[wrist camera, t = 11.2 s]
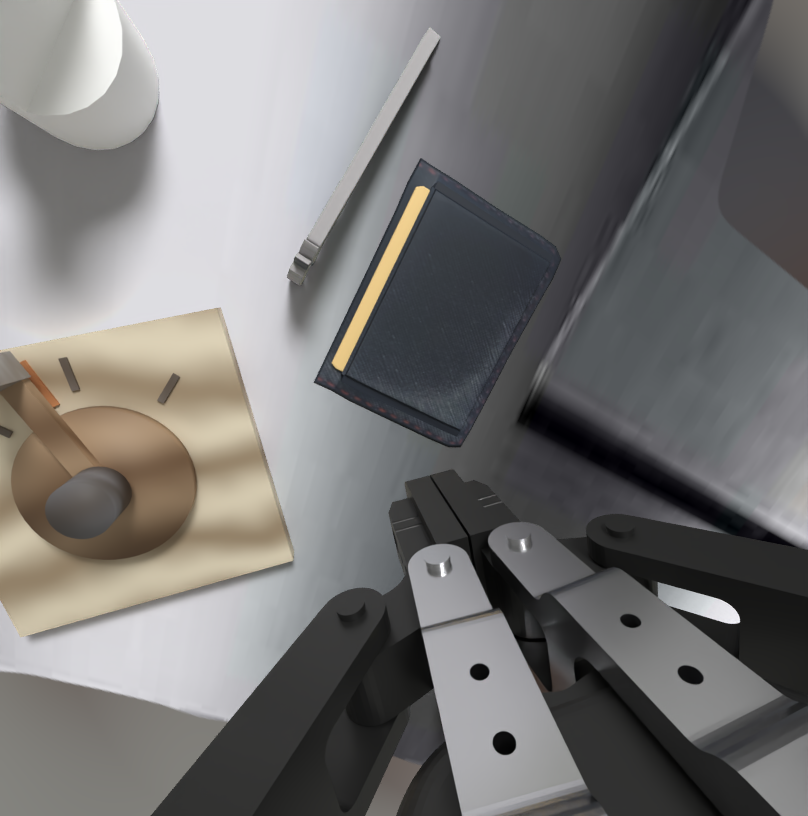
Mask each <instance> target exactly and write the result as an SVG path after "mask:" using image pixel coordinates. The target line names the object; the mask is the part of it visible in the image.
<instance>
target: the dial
mask: <svg viewBox="0 0 808 816" xmlns="http://www.w3.org/2000/svg"><path fill="white" fill-rule="evenodd" d="M30 377H31V376H30V375H29V373H28V372H27V371H26V370H25V369H24V367H23V366H22V365H21V364H20V363H19V361H18V360H17V359H16V358H15V357H14V355H13V354H12V353H11V352H10V351H7V352H1V353H0V394H1V395H2V396H3V398H4V399H5V400H6V401H7V402H8V403H9V404H10V406H11V407H12V408H13V409H14V410H15V411H16V412H17V414H18V415H19V416H20V417H21V418H22V419H23V420H24V422H25V423H26V424H27V425H28V426H29V427H30V429H31V430H32V431H33V433H31V434H30V436H29V437H28V438H27V439H26V440H25V441H24V442H23V444H22V446H21V447H20V449H19V450H18V452H17V455H16V457H15V459H14V463H13V467H12V471H11V487H12V494H13V497H14V501H15V503H16V506H17V508H18V510H19V512H20V514H21V515H22V517H23V519H24V520H25V521H26V523H27V524H28V525H29V526H30V527H31V529H32V530H34V531H35V532H36V533H37V534H38V535H39V536H40V537H41V538H43V539H44V540H46V541H47V542H48V543H50V544H52V545H53V546H55V547H57V548H59V549H61V550H63V551H66V552H68V553H71V554H74V555H77V556H80V557H85V558H91V559H100V560H117V559H125V558H130V557H134V556H138V555H141V554H144V553H147V552H149V551H151V550H153V549H155V548H157V547H159V546H160V545H162V544H163V543H165V542H166V541H167V540H168V539H170V538H171V537H172V536H173V535H174V534H175V533H176V532H177V531H178V530H179V529H180V527H181V526H182V524H183V523H184V521H185V520H186V518H187V516H188V514H189V512H190V510H191V508H192V506H193V503H194V500H195V496H196V489H197V478H196V472H195V468H194V464H193V461H192V459H191V457H190V455H189V452H188V451H187V449H186V448H185V446H184V445H183V443H182V442H181V441H180V440H179V438H178V437H177V436H176V435H175V434H174V433H173V432H172V431H170V430H169V429H168V428H167V427H166V426H164V425H163V424H161V423H160V422H159V421H157V420H155V419H153V418H151V417H149V416H147V415H145V414H142V413H140V412H137V411H134V410H130V409H127V408H121V407H115V406H91V407H85V408H80V409H76V410H73V411H70V412H67V413H64V414H62V415H59V414H58V413H57V411H56V410H55V409H54V408H53V407H52V406H51V404H50V403H49V402H48V401H47V400H46V398H45V397H44V396H43V395H42V394H41V392H40V391H39V390H38V389H37V388H36V386H35V385H34V384H33V383H32V382H31V380H30V379H29V378H30Z"/></svg>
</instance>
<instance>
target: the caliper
mask: <svg viewBox="0 0 808 816" xmlns="http://www.w3.org/2000/svg"><path fill="white" fill-rule="evenodd" d="M439 39H440V36H439V35H438V34H437V33H436V32H434V31H433V30H432V29H431V28H430V27H429V29H428V30H427V32H426V34H425V36H423V38H422V40H421V42H420V43H419V45H418V47H417V49H416V50H415V52H414V54H413V55H412V57H411V59H410V61H409V62H408V64H407V66H406V68H405V69H404V71H403V73H402V75H401V76H400V78H399V80H398V82H397V83H396V85H395V87H394V88H393V90H392V92H391V94H390V95H389V97H388V99H387V101H386V102H385V104H384V106H383V108H382V109H381V111H380V113H379V115H378V116H377V118H376V120H375V122H374V123H373V125H372V127H371V129H370V130H369V132H368V134H367V135H366V137H365V139H364V141H363V142H362V144H361V146H360V148H359V149H358V151H357V153H356V155H355V156H354V158H353V160H352V162H351V163H350V165H349V167H348V169H347V170H346V172H345V174H344V175H343V177H342V179H341V181H339V183H338V185H337V187H336V188H335V190H334V192H333V194H332V195H331V197H330V199H329V201H328V202H327V204H326V206H325V207H324V209H323V211H322V213H321V214H320V216H319V218H318V220H317V221H316V223H315V225H314V227H313V228H312V230H311V232H310V234H309V235H308V237H307V239H305V240H304V242H303V244H302V246H301V248H300V251H299V253H297V254H296V255H295V258H294V262H293V263H292V265H291V267H290V269H289V272H288V275H287V278H288V279H290V280H291V281H293V282H295V283H296V284H298V285H300V286H301V284H302V283H303V281H304V279H305V276H306V274H307V271H308V269H309V267H310V266H311V265H313V263H314V262H315V260H316V258H317V256H318V254H319V252H320V250H321V248H322V246H323V244H324V241H325V240H326V238H327V236H328V234H329V233H330V231H331V229H332V228H333V226H334V224H335V223H336V221H337V219H338V217H339V216H340V214H341V212H342V210H343V209H344V207H345V205H346V203H347V201H348V199H349V197H350V196H351V194H352V192H353V190H354V189H355V187H356V185H357V183H358V182H359V180H360V178H361V176H362V175H363V173H364V171H365V169H366V168H367V166H368V164H369V162H370V161H371V159H372V157H373V155H374V154H375V152H376V150H377V148H378V147H379V145H380V143H381V141H382V140H383V138H384V136H385V134H386V133H387V131H388V129H389V127H390V126H391V124H392V122H393V120H394V119H395V117H396V115H397V113H398V112H399V110H400V108H401V106H402V105H403V103H404V101H405V99H406V98H407V96H408V94H409V92H410V91H411V89H412V87H413V85H414V84H415V82H416V80H417V78H418V77H419V75H420V73H421V71H422V70H423V68H424V66H425V64H426V62H427V61H428V59H429V57H430V55H431V53H432V52H433V50H434V48H435V46H436V45H437V43H438V41H439Z"/></svg>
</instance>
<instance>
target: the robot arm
mask: <svg viewBox="0 0 808 816" xmlns="http://www.w3.org/2000/svg"><path fill="white" fill-rule="evenodd" d="M405 489H406V494H407V499H403V500H399V501H396V502H392V505H391V508H390V510H389V517H390V521H391V526H392V530H393V535H394V539H395V544H396V548H397V553H398V557H399V560H400V563H401V566H402V569H403V572H404V575H405V577H404V578H403V580H402V581H401V582H400V583H399V585H398V586H396V587H395V588H394V589H393V590H391V591H390V592H388V593H386V594H385V595H383V596H382V595H381V594H380V593H379V592H377V591H375V590H373V589H370V588H355V589H351V590H347V591H345V592H342V593H340V594H338V595H337V596H335V597H333V598H332V599H331V600H330V601H328V603H327V604H326V605H325V606H324V607H323V608H322V609H321V611H320V612H319V613H318V614H317V615H316V617H315V618H314V619H313V620H312V621H311V623H310V624H309V625H308V626H307V627H306V629H305V630H304V631H303V632H302V634H301V635H300V636H299V637H298V638H297V640H296V641H295V642H294V643H293V644H292V646H291V647H290V648H289V649H288V650H287V652H286V653H285V654H284V655H283V657H282V658H281V659H280V660H279V661H278V663H277V664H276V665H275V666H274V667H273V669H272V670H271V671H270V672H269V673H268V675H267V676H266V677H265V678H264V679H263V681H262V682H261V683H260V684H259V686H258V687H257V688H256V689H255V690H254V692H253V693H252V694H251V695H250V696H249V698H248V699H247V700H246V701H245V702H244V704H243V705H242V706H241V707H240V708H239V710H238V711H237V712H236V713H235V715H234V716H233V717H232V718H231V719H230V721H229V722H228V723H227V724H226V726H225V727H224V728H223V729H222V730H221V732H220V733H219V734H218V735H217V736H216V738H215V739H214V740H213V741H212V742H211V744H210V745H209V746H208V747H207V748H206V750H205V751H204V752H203V753H202V754H201V756H200V757H199V758H198V759H197V761H196V762H195V763H194V764H193V765H192V767H191V768H190V769H189V770H188V771H187V773H186V774H185V775H184V776H183V777H182V779H181V780H180V781H179V782H178V783H177V785H176V786H175V787H174V789H172V791H171V792H170V793H169V794H168V796H167V797H166V798H165V799H164V800H163V802H162V803H161V804H160V805H159V807H158V808H157V809H156V810H155V811H154V813H153V814H152V815H151V816H365V815H366V812H367V810H368V808H369V806H370V804H371V801H372V799H373V797H374V795H375V793H376V791H377V788H378V786H379V784H380V782H381V780H382V777H383V775H384V773H385V771H386V769H387V767H388V764H389V762H390V760H391V758H392V756H393V754H394V751H395V749H396V747H397V745H398V743H399V741H400V738H401V736H402V734H403V732H404V730H405V728H406V725H407V723H408V720H409V717H410V705H411V704H413V703H414V702H416V701H417V700H418V699H420V698H421V697H422V696H424V695H425V694H426V693H428V692H429V691H430V690H432V689H433V688H434V690H435V695H436V699H437V704H438V708H439V713H440V717H441V722H442V727H443V731H444V736H445V740H446V742H444V743H443V744H442V745H441V746H440V747H439V748H438V749H437V750H435V751H434V752H433V753H432V755H431V756H430V757H429V758H428V759H427V760H426V762H425V763H424V764H423V765H422V767H421V768H420V770H419V771H418V772H417V774H416V776H415V777H414V778H413V780H412V782H411V784H410V786H409V787H408V789H407V791H406V794H405V795H404V798H403V800H402V802H401V805H400V807H399V810H398V812H397V815H396V816H808V550H805V549H800V548H795V547H790V546H785V545H779V544H774V543H769V542H764V541H759V540H754V539H748V538H743V537H738V536H733V535H728V534H723V533H717V532H712V531H707V530H702V529H697V528H692V527H686V526H681V525H676V524H671V523H666V522H661V521H655V520H650V519H645V518H640V517H635V516H630V515H623V514H609V515H603V516H600V517H597V518H595V519H593V520H591V521H590V522H589V523H588V525H587V527H586V534H587V537H583V538H569V539H555V538H554V537H553V536H552V535H551V534H549V533H548V532H547V531H546V530H545V529H543V528H542V527H540V526H538V525H535V524H532V523H527V522H520V521H519V519H518V518H517V517H516V516H515V515H514V514H513V513H512V512H511V511H510V510H509V509H508V507H507V506H506V505H505V504H504V503H503V502H501V500H500V499H499V498H498V497H497V496H495V493H494V492H493V491H492V490H491V489H490V488H489V487H488V486H487V485H485V484H482V483H480V482H478V481H475V480H473V481H469V482H465V483H464V482H463V481H462V479H461V478H460V477H459V476H458V474H457V473H456V472H455V471H454V470H453V469H452V470H448V471H444V472H441V473H437V474H433V475H430V476H426V477H422V478H418V479H415V480H411V481H407V482H405ZM658 582H660V583H664V584H667V585H671V586H674V587H678V588H682V589H685V590H689V591H693V592H696V593H700V594H704V595H707V596H711V597H714V598H718V599H721V600H723V601H725V602H727V603H728V604H730V605H731V606H732V607H733V608H734V609H735V610H736V611H737V613H738V614H739V617H740V623H737V624H727V623H723V622H720V621H717V620H713V619H710V618H707V617H703V616H700V615H697V614H694V613H690V612H687V611H684V610H680V609H677V608H674V607H670V606H668V605H667V604H665V603H664V602H663V601H662V600H660V599H659V598H658Z"/></svg>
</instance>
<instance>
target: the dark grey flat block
mask: <svg viewBox="0 0 808 816" xmlns="http://www.w3.org/2000/svg"><path fill="white" fill-rule="evenodd" d="M560 261H561V258H560V255H559V253H558V251H557V248H556V246H554V245H553V244H552V243H550V242H549V241H548V240H546V239H545V238H543V237H542V236H541V235H539V234H538V233H536V232H534V231H533V230H531V229H530V228H528V227H526V226H525V225H523V224H522V223H520V222H518V221H517V220H515V219H514V218H512V217H510V216H509V215H507V214H506V213H504V212H503V211H501V210H499V209H498V208H496V207H495V206H493V205H492V204H490V203H489V202H487V201H486V200H484V199H483V198H481V197H480V196H478V195H477V194H475V193H474V192H472V191H471V190H469V189H468V188H466V187H465V186H463V185H462V184H460V183H459V182H457V181H456V180H454V179H453V178H451V177H449V176H448V175H446V174H445V173H443V172H441V171H440V170H438V169H437V168H435V167H433V166H432V165H430V164H429V163H427V162H426V161H424V160H423V159H421V158H420V160H419V162H418V164H417V166H416V168H415V170H414V171H413V173H412V175H411V177H410V179H409V181H408V183H407V185H406V187H405V190H404V192H403V194H402V197H401V199H400V201H399V204H398V206H397V208H396V211H395V213H394V215H393V217H392V219H391V221H390V223H389V225H388V228H387V230H386V232H385V234H384V236H383V238H382V240H381V242H380V244H379V247H378V249H377V251H376V253H375V255H374V257H373V259H372V261H371V263H370V265H369V268H368V270H367V272H366V274H365V276H364V278H363V280H362V282H361V284H360V286H359V289H358V291H357V293H356V295H355V297H354V299H353V301H352V303H351V305H350V307H349V310H348V312H347V314H346V316H345V318H344V320H343V322H342V324H341V326H340V329H339V331H338V333H337V335H336V337H335V339H334V341H333V343H332V345H331V347H330V349H329V352H328V354H327V356H326V358H325V360H324V362H323V364H322V366H321V368H320V370H319V373H318V375H317V377H316V379H315V381H314V383H317V384H319V385H321V386H323V387H325V388H328V389H330V390H332V391H334V392H335V393H337V394H339V395H341V396H342V397H344V398H346V399H348V400H349V401H352V402H354V403H356V404H358V405H360V406H362V407H364V408H366V409H368V410H370V411H372V412H375V413H377V414H379V415H381V416H383V417H385V418H387V419H389V420H391V421H394V422H396V423H398V424H400V425H402V426H404V427H406V428H408V429H410V430H413V431H415V432H417V433H419V434H421V435H423V436H425V437H427V438H430V439H432V440H434V441H436V442H439V443H441V444H444V445H446V446H448V447H461V445H462V444H463V442H464V440H465V439H466V437H467V435H468V433H469V432H470V430H471V428H472V427H473V425H474V423H475V421H476V419H477V417H478V415H479V413H480V412H481V410H482V408H483V406H484V404H485V402H486V400H487V398H488V396H489V394H490V392H491V391H492V389H493V387H494V385H495V383H496V381H497V379H498V377H499V375H500V373H501V371H502V369H503V367H504V365H505V364H506V362H507V360H508V358H509V356H510V354H511V352H512V350H513V349H514V347H515V345H516V343H517V341H518V340H519V338H520V336H521V334H522V332H523V331H524V329H525V327H526V325H527V323H528V322H529V320H530V318H531V316H532V314H533V313H534V311H535V309H536V307H537V305H538V304H539V302H540V300H541V298H542V296H543V295H544V293H545V291H546V290H547V288H548V286H549V284H550V283H551V281H552V279H553V277H554V275H555V273H556V270H557V268H558V265H559V263H560Z"/></svg>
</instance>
